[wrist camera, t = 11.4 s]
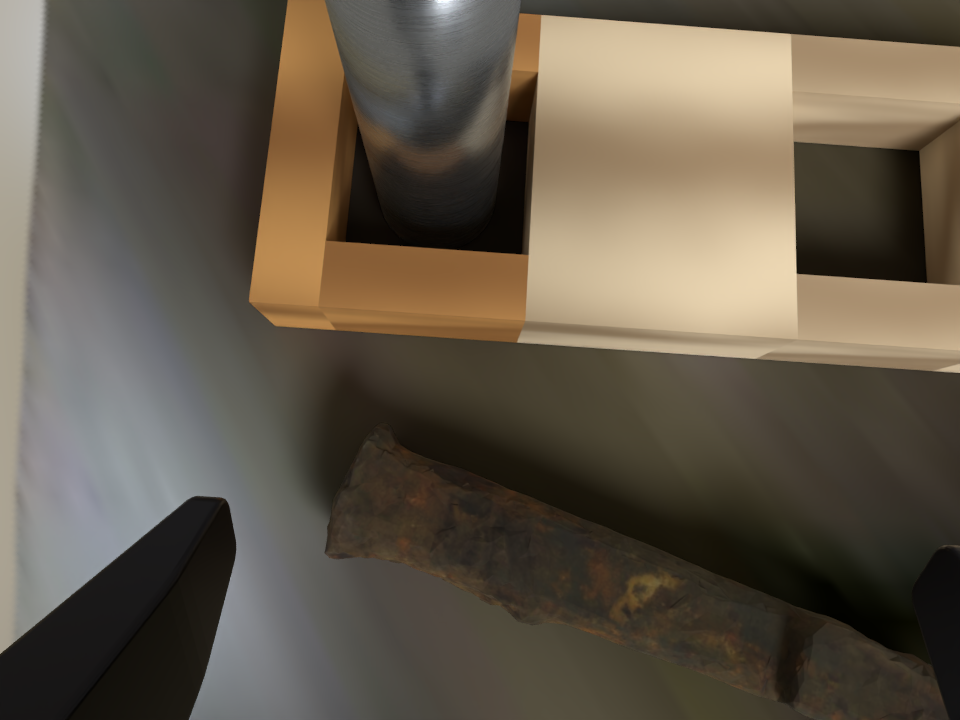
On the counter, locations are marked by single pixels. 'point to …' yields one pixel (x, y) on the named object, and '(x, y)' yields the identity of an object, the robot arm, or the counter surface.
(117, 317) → the counter surface
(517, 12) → the steel peg
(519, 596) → the brown rough long piece
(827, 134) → the rail board
